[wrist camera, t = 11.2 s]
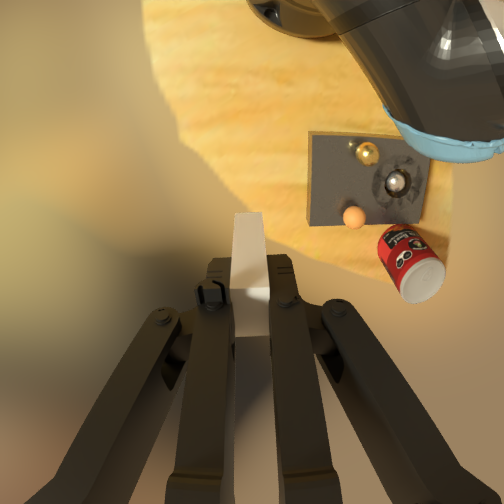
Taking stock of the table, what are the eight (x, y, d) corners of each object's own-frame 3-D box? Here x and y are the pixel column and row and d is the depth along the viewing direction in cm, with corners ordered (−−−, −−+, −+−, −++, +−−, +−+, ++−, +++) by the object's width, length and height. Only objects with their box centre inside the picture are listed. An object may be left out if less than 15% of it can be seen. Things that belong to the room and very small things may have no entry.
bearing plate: (308, 131, 37) (312, 134, 35) (423, 139, 37) (432, 143, 35) (306, 218, 44) (309, 226, 42) (411, 216, 44) (418, 223, 42)
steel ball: (386, 167, 40) (384, 170, 38) (406, 170, 39) (406, 173, 36) (384, 188, 42) (382, 192, 39) (404, 191, 40) (403, 195, 38)
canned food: (418, 220, 44) (452, 257, 35) (410, 260, 49) (437, 300, 39) (379, 223, 45) (408, 262, 35) (372, 264, 49) (396, 307, 40)
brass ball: (352, 138, 35) (361, 144, 32) (375, 140, 35) (384, 145, 32) (351, 162, 37) (359, 169, 34) (373, 163, 37) (382, 170, 34)
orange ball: (341, 202, 40) (348, 212, 37) (362, 202, 40) (370, 212, 37) (339, 222, 42) (345, 233, 39) (360, 222, 42) (367, 233, 39)
